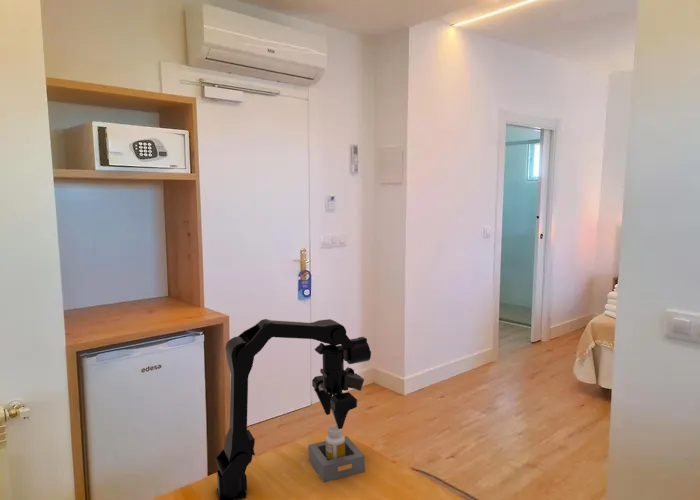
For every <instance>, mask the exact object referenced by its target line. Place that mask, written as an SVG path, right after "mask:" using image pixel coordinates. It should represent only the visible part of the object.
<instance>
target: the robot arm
mask: <svg viewBox="0 0 700 500" xmlns="http://www.w3.org/2000/svg"><path fill="white" fill-rule="evenodd" d="M272 338H281V339H301V340H302V339H303V340H305V339H306V340H314V341H318V342H320V343H319V344H318V345H317V346H316V347H315V348H314V352H316V353H317V354H318V355H321V356H322V368H320V373H321V375H317V376H314V377H313V379H312V381H311V382H312V384H311V387H313V390H314V392H315V394H316V396H317V398H318V400H319V402H320V405H321V407H322V409H323V412H324V413H325V415H326V416H328V415H331V413H332V415H333V418H334V420H335V424H336V426H338V429H342V430H343V427H344V425H345V422H346V418H347V415H348V413H349V412H350V411H351V410H354V409H356V408H357V407H358V399H357V398H356V397H355V396H354V395H353V394H352V393H350V392H349V389H354V390H357V391H362V388H363V385H364V382H365V379H364V378H363V377H362V376H361V375H359V374H357V373H356V372H355V369H353V368H352V367H346V368H345V367H344V366H345V364H344V362H346V363H347V364H348V365H352V364H359V363H364V362H369V361H370V360H371V357H372V350H370V349H371V348H370V345H369V343H368V338H366V337H365V336H359V337H356V338H350V337H349V336H348V335H347V330H346V328H345V326H344V325H343V324H341V323H339V322H337V321H335V320H334V319H330V318H329V319H321V320H320V319H319V320H316V321H313V322H303V321H302V322H301V321H288V320H286V321H285V320H273V319H267V318H264V319H261V320H260V321H258V322H257V323H256V324H254V325H253V326H251V327H248V328H247V329H245V330H243V332H241V333H240V334H238V336H233V337H232V338H230V339H229V340H228V341H227V342H226V344H225V354H226V360H227V365H228V369H229V372H230V395H229V399H230V401H229V402H230V403H229V404H230V405H229V428H228V431H227V434H226V435H225V440H224V445H223V448H222V450H221V451H220V452H219V453H218V454H217V455H216V457H215V458H214V460H215V463H216V464H217V465H216V466H217V467H218V470H217V471H216V476H217V477H216V479H217V488H216V493H217V497H218V499H219V500H241V499H246V498H247V495H248V494H247V491H248V483H247V480H248V479H247V478H248V477H247V474H246V471H247V468H248V466H249V465H250V464H251V463H252V460H253V456H256V453H255V449H254V448H255V442H256V439H255V438H254V436H253V434H252V432H251V431H250V430H249V429H248V405H249V404H248V402H249V401H248V399H249V393H248V392H249V375H250V373H251V371H252V368H253V365H254V360H255V356H256V355H257V354H258V353H260V352H261V351H262V349H264V347H265V345H266V344H267V343H268V342H269V341H270V340H271V339H272ZM344 368H345V369H344ZM343 391H344V392H343ZM345 391H348V392H345Z"/></svg>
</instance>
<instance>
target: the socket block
mask: <svg viewBox="0 0 700 500" xmlns="http://www.w3.org/2000/svg"><path fill="white" fill-rule="evenodd" d="M344 437H345V457H341V458H337V459H333V460H329V461H328V460H327V459H326V440H325V441H320V442H315V443H311V444H308V446H307V447H308V449H307V450H308V452H307V453H308V461H309V462H310V464H311V465H312V468H314V470H315V472H316V473H317V474H318V476H319V477H320V480H322V482H323V483H326V482H330V481H335V480H338V479H341V478H346V477H349V476H354V475H357V474H360V473H365V472H366V468H365V467H366V460H365V459H366V458H365V455H364V453H363V452H362V451H361V450H360V448H358V446H357V445H356V444H355V443H354V442H353V441H352V440H351V438H349V436H347V435H346V436H344Z"/></svg>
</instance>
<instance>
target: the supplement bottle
mask: <svg viewBox="0 0 700 500" xmlns="http://www.w3.org/2000/svg"><path fill="white" fill-rule="evenodd" d="M345 437H346V436H344V434H343V428H342V429H338V426H337V425H332V426H330V427H328V429H327V435H326V436H325V441H326V459H327V460H328V461H329V460H333V459H337V458H341V457H345Z"/></svg>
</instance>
